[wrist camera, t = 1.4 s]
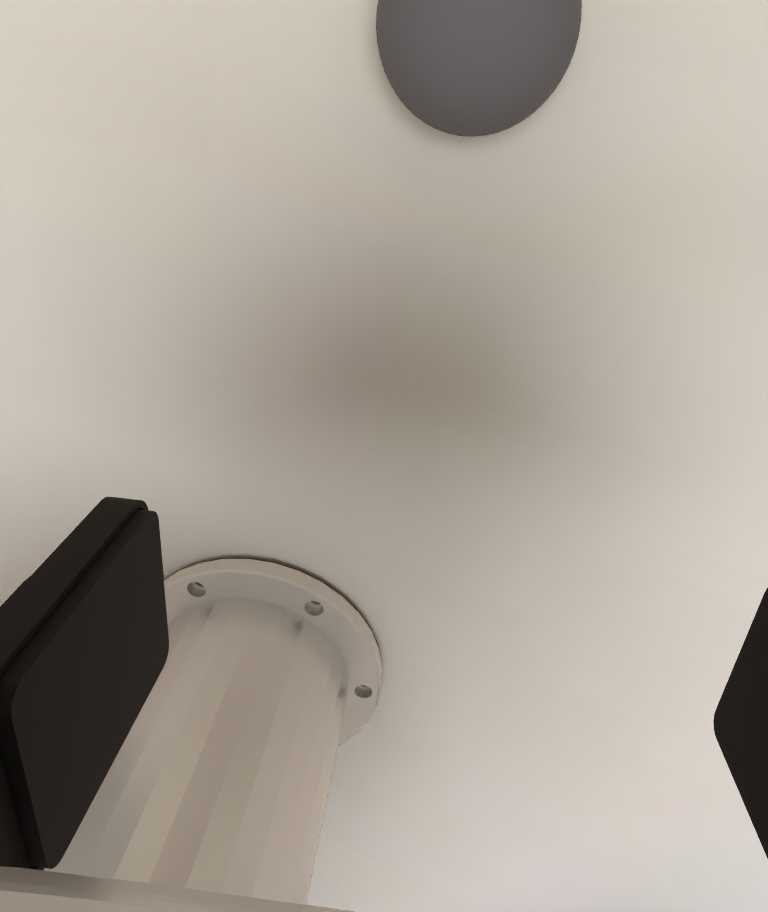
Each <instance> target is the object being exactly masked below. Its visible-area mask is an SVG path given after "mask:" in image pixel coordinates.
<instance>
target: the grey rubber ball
mask: <svg viewBox="0 0 768 912" xmlns="http://www.w3.org/2000/svg"><path fill="white" fill-rule="evenodd" d="M581 7H582V3H581V0H378V6H377V18H376V31H377V43H378V48H379V54H380V58H381V61H382V65H383V68H384V71H385V73H386V76H387V78H388V80H389V82H390V84H391V86H392V88H393V89H394V91H395V93H396V94H397V96H398V97H399V98H400V100H401V101H402V102H403V104H404V105H405V106H406V107H407V108H408V109H409V110H410V111H411V112H412V113H413V114H414V115H415V116H416V117H418V118H419V119H421V120H422V121H423V122H425V123H426V124H428V125H430V126H432V127H434V128H435V129H438V130H440V131H443V132H446V133H449V134H454V135H459V136H483V135H489V134H493V133H497V132H500V131H502V130H505V129H508V128H510V127H512V126H514V125H516V124H517V123H519V122H521V121H523V120H524V119H525V118H527V117H528V116H530V115H531V114H532V113H534V112H535V111H536V110H537V109H538V108H539V107H540V106H541V105H542V104H543V103H544V102H545V101H546V100H547V99H548V98H549V96H550V95H551V94H552V93H553V92H554V90H555V89H556V87H557V86H558V84H559V83H560V81H561V80H562V78H563V76H564V74H565V72H566V70H567V68H568V66H569V64H570V61H571V59H572V56H573V54H574V51H575V47H576V44H577V40H578V36H579V30H580V23H581Z"/></svg>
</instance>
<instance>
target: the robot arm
mask: <svg viewBox="0 0 768 912" xmlns="http://www.w3.org/2000/svg"><path fill="white" fill-rule="evenodd" d="M381 675H382V663H381V657H380V651H379V648H378V645H377V643H376V640H375V638H374V636H373V633H372V631H371V629H370V628H369V627H368V625H367V624H366V622H365V621H364V619H363V618H362V617H361V615H360V614H359V612H358V611H357V610H356V609H355V608H354V607H353V606H352V605H351V604H349V603H348V602H347V601H346V600H345V599H344V598H343V597H342V596H341V595H340V594H338V593H337V592H335V591H334V590H332V589H331V588H330V587H328V586H327V585H325V584H324V583H322V582H321V581H319V580H317V579H315V578H313V577H310V576H308V575H306V574H304V573H302V572H300V571H298V570H295V569H292V568H288V567H285V566H282V565H279V564H276V563H271V562H265V561H258V560H252V559H220V560H214V561H208V562H202V563H198V564H196V565H193V566H190V567H188V568H185V569H182V570H179V571H178V572H176V573H175V574H173V575H172V576H170V577H168V578H167V579H165V580H164V577H163V565H162V554H161V542H160V530H159V520H158V515H157V513H156V512H154V511H148V507H147V505H146V503H145V502H144V501H141V500H133V499H124V498H116V497H105V498H104V499H102V500H101V501H100V502H99V503H98V505H97V506H96V507H95V508H94V509H93V510H92V511H91V512H90V513H89V514H88V515H87V516H86V517H85V518H84V520H83V521H82V522H81V523H80V524H79V525H78V526H77V527H76V528H75V529H74V530H73V531H72V532H71V534H70V535H69V536H68V537H67V538H66V539H65V540H64V541H63V542H62V543H61V544H60V545H59V546H58V548H57V549H56V550H55V551H54V552H53V553H52V554H51V555H50V556H49V557H48V558H47V559H46V560H45V562H44V563H43V564H42V565H41V566H40V567H39V568H38V569H37V570H36V571H35V572H34V573H33V574H32V576H30V577H29V578H28V579H27V580H25V581H24V582H23V583H22V584H21V585H20V586H19V587H18V588H17V590H16V591H15V592H14V593H13V594H12V595H11V596H10V597H9V598H8V599H7V600H6V601H5V602H4V603H3V605H2V606H1V607H0V912H354V911H347V910H339V909H332V908H325V907H318V906H311V905H306V902H307V897H308V892H309V887H310V882H311V877H312V872H313V866H314V861H315V856H316V851H317V846H318V841H319V836H320V831H321V826H322V821H323V816H324V810H325V805H326V800H327V795H328V790H329V785H330V780H331V775H332V770H333V765H334V760H335V754H336V749H337V746H338V745H341V744H343V743H344V742H345V741H347V740H348V739H350V738H351V737H352V736H354V735H355V734H357V733H358V732H359V730H360V729H361V728H362V727H363V726H364V725H365V724H366V723H367V722H368V720H369V719H370V717H371V715H372V713H373V711H374V709H375V707H376V705H377V701H378V696H379V692H380V686H381ZM714 731H715V735H716V738H717V741H718V743H719V746H720V748H721V750H722V753H723V755H724V757H725V760H726V762H727V764H728V767H729V769H730V771H731V774H732V776H733V778H734V781H735V783H736V785H737V788H738V790H739V792H740V795H741V797H742V800H743V802H744V804H745V807H746V809H747V811H748V814H749V816H750V818H751V821H752V823H753V825H754V828H755V830H756V832H757V835H758V837H759V839H760V842H761V844H762V846H763V849H764V851H765V853H766V856H767V858H768V588H767V589H766V591H765V593H764V596H763V598H762V600H761V603H760V605H759V608H758V610H757V612H756V615H755V617H754V620H753V622H752V624H751V627H750V629H749V632H748V634H747V636H746V639H745V641H744V644H743V646H742V648H741V651H740V653H739V656H738V658H737V660H736V663H735V665H734V668H733V670H732V672H731V675H730V677H729V680H728V682H727V684H726V687H725V689H724V692H723V694H722V696H721V699H720V701H719V704H718V706H717V708H716V711H715V715H714Z"/></svg>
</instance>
